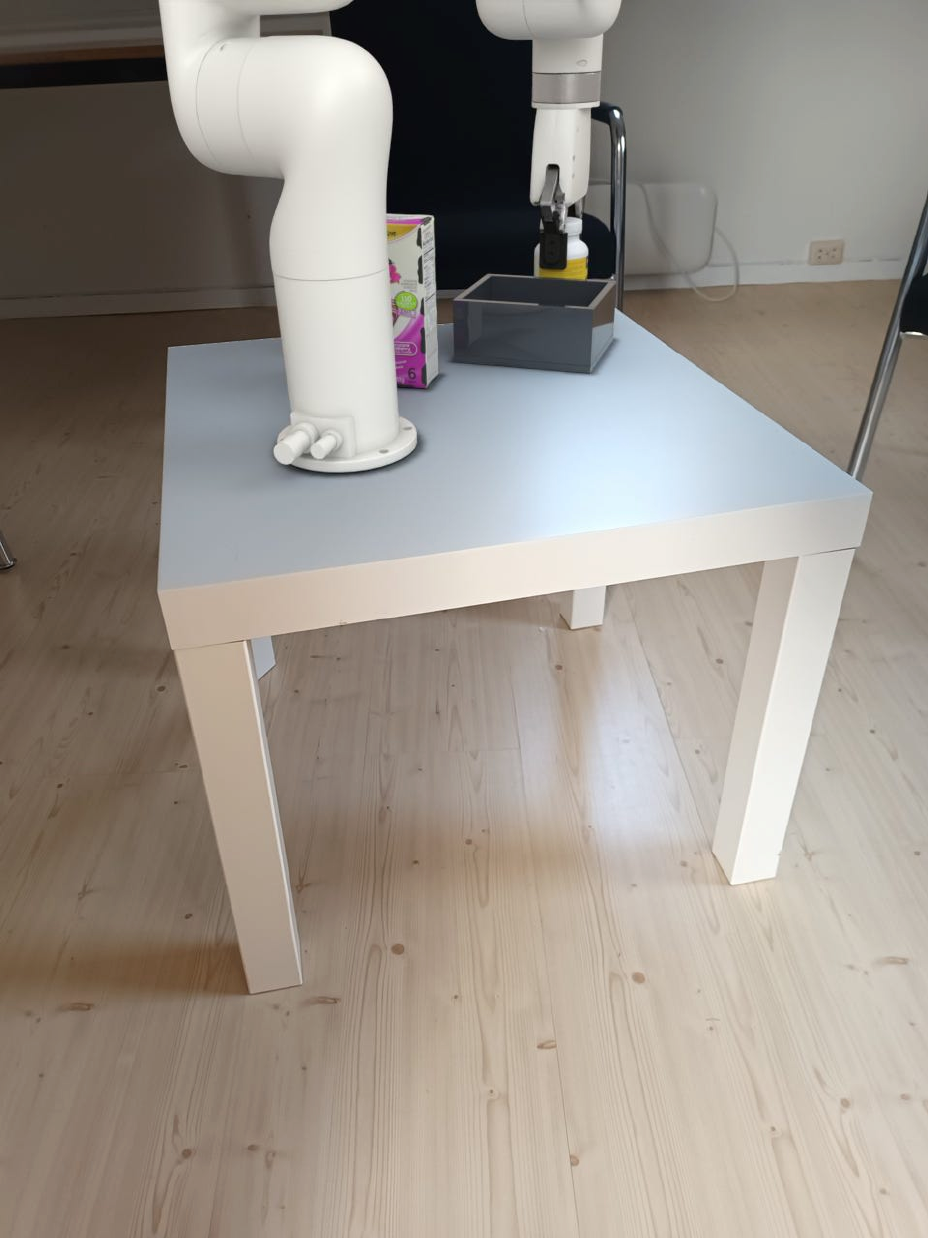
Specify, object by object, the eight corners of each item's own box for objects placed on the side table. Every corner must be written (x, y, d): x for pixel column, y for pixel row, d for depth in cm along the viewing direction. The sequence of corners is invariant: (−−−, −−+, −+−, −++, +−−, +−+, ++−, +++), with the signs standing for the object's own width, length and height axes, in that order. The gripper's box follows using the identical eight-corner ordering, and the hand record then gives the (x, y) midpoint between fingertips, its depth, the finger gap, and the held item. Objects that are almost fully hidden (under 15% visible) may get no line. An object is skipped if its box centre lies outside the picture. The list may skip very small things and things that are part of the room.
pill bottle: (587, 326, 112) (592, 224, 106) (534, 327, 112) (536, 225, 106) (582, 312, 118) (587, 214, 111) (531, 313, 118) (533, 215, 111)
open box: (590, 373, 100) (593, 309, 96) (454, 361, 104) (452, 299, 100) (612, 340, 110) (616, 280, 106) (487, 330, 114) (487, 273, 110)
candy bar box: (327, 384, 99) (310, 219, 90) (344, 369, 103) (329, 210, 94) (428, 390, 96) (420, 221, 87) (441, 375, 100) (435, 212, 91)
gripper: (552, 86, 109) (548, 245, 119) (511, 97, 96) (510, 276, 105) (615, 85, 107) (605, 248, 117) (582, 97, 94) (574, 280, 103)
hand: (560, 260), depth 111 cm, fingers closed on pill bottle, 6 cm apart
